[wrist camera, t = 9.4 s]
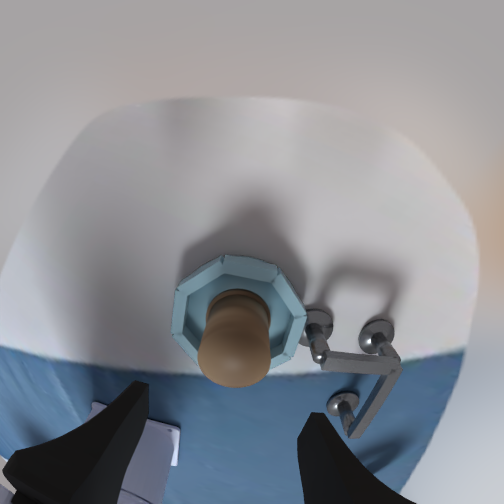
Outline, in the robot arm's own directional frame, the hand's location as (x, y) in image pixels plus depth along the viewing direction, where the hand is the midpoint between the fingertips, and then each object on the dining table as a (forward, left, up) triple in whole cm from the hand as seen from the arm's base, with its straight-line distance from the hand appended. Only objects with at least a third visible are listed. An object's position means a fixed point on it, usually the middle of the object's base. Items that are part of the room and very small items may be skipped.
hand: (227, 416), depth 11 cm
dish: (0, 0, -10) cm, 10 cm away
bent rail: (+8, -4, -10) cm, 13 cm away
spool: (0, 0, -9) cm, 9 cm away
